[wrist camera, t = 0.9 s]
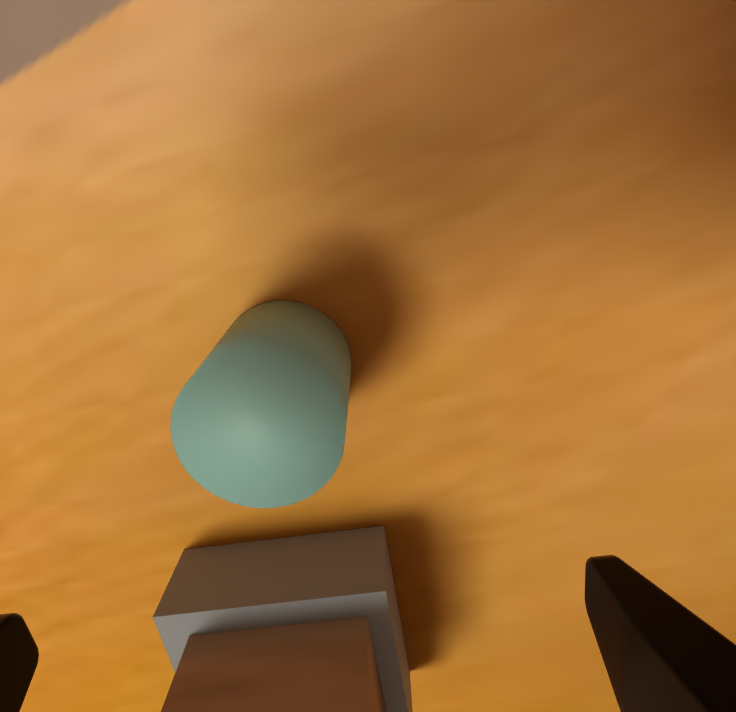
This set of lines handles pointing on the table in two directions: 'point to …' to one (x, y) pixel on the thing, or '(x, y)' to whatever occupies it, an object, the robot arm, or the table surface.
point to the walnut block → (280, 670)
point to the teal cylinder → (267, 407)
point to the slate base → (291, 594)
